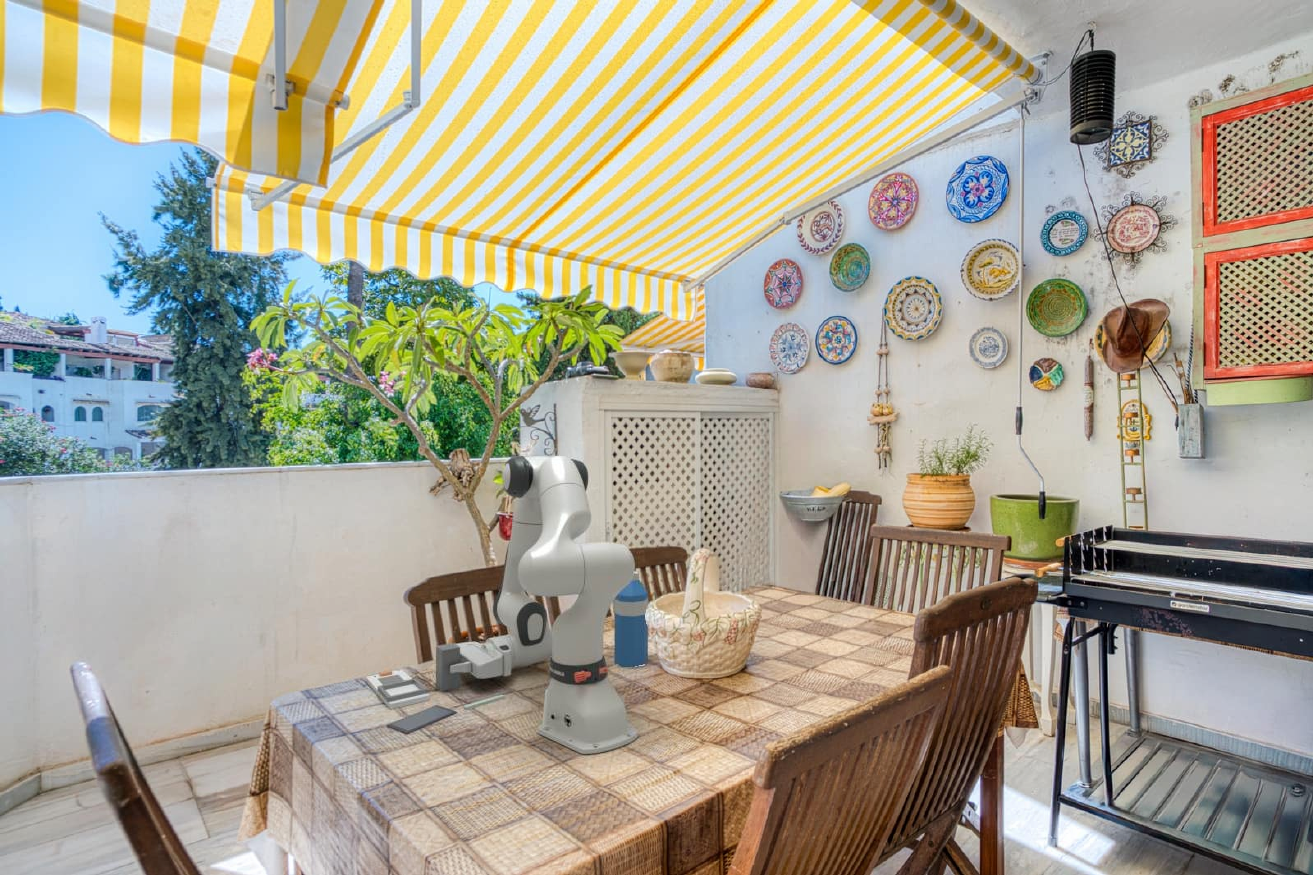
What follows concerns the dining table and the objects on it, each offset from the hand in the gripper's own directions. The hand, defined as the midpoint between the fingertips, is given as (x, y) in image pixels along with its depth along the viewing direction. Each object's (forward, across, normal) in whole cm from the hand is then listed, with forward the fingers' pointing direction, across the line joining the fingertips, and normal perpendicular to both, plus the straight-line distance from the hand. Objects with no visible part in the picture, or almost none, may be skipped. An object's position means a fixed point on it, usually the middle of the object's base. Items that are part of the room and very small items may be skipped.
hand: (444, 665), depth 164 cm
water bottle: (-48, +13, +6) cm, 50 cm away
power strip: (+10, -5, +6) cm, 13 cm away
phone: (+10, +16, +6) cm, 20 cm away
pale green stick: (-4, +16, +6) cm, 17 cm away
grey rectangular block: (-1, 0, +6) cm, 6 cm away
